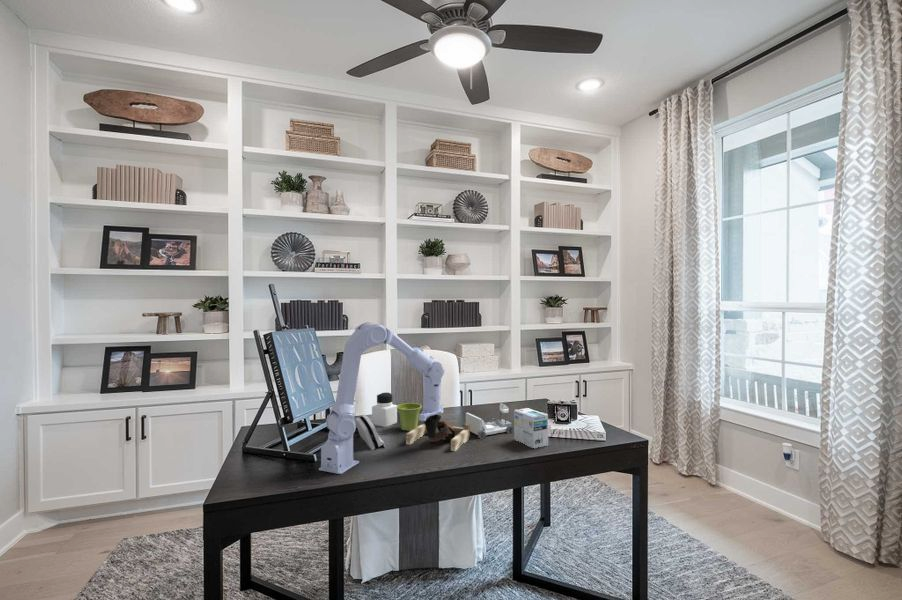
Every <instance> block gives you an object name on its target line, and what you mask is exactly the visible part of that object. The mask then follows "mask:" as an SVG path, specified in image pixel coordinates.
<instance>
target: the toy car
mask: <svg viewBox="0 0 902 600" xmlns="http://www.w3.org/2000/svg"><path fill="white" fill-rule="evenodd" d="M507 404H508V403H507V402H506V403H503V402H500V403H499V414H500V415H499V417H500V418H499V419H496V418H494V417H490V418H489V419H488V422H485V421H484V420H483V419H482V418H480V417H479V416H477V415H474V414H472V413H469V412H465V422H464V423H463V424H462V426H461V427H463V428H465V424H470V433H473V434H475V435H476V436H477V438H478V439H479V438H481V439H485V438H486V436H488V435H489V436H490V435H496V434H500V433H506V434H510V433H509V432H513V433H514V427H513V423H512V422H510V421H508V420H507V414H508V413H509V412H510V408H509V407H508V406H507ZM502 413H503V414H504V419H503V418H502ZM484 437H485V438H484Z"/></svg>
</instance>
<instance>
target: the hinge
mask: <svg viewBox="0 0 902 600" xmlns="http://www.w3.org/2000/svg"><path fill="white" fill-rule="evenodd" d="M354 420H355V424H356V428H357V431H358V433H359V435H360V437H361V438H362V440H363V441H364V442H365V444H366V445H367V446H368V447H369V449H370V450H376V447H378V448H380V447H381V446H383V447H384V448H386V449H387V445H386V443H385V442H384V440H382V438H381V437H380V436H379V434H378V432H377V429H376V426H375V425H373V423H372V419H370V418H369V417H368V415H366V414H363V415H360V417H356V418H354Z"/></svg>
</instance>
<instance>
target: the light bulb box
mask: <svg viewBox="0 0 902 600" xmlns="http://www.w3.org/2000/svg"><path fill="white" fill-rule="evenodd" d="M513 411H514V412H513V415H514V416H513V417H514V418H513V419H514V421H513V422H514V423H513V426H514V427H513V428H514V431H513V435H514V438H513V440H514V439H515V440H514V441H516V442H518V441H519V442H518V443H520V442H521V443H520V444H522V443H523V445H524V444H525V446H527V447H529V448H530V449H533V448H534V449H537V448H538V447H539V448H543V447H547V446H549V414H548V413H544V412H541V411H537V410H534V409H532V408H529V407H525V408H519V409H514V410H513Z"/></svg>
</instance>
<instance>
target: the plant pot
mask: <svg viewBox="0 0 902 600" xmlns="http://www.w3.org/2000/svg"><path fill="white" fill-rule="evenodd" d="M422 405H423V404H420V403H416V402H407V403H406V402H405V403H399V404H398V405H397V412H398V413H399V421H400V430H403V431H407V432H410V431H412V430H413V429H415V428H416V427H418V426H419V425H418V424H419V415H420V412H421V409H422V408H423V406H422Z"/></svg>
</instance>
